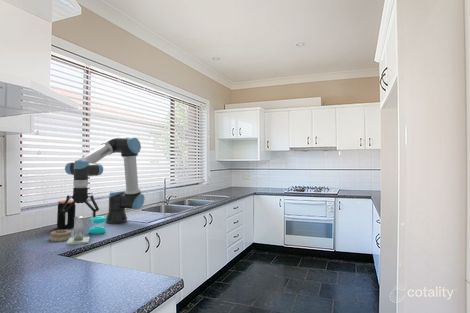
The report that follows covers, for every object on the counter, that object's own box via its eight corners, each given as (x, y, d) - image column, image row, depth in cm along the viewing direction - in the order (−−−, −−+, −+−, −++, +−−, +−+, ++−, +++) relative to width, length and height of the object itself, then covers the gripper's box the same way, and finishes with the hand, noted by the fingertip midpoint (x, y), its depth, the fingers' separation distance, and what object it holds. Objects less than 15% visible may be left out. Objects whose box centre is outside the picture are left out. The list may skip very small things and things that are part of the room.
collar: (72, 235, 187) (72, 229, 187) (69, 240, 177) (69, 233, 177) (52, 236, 183) (52, 230, 183) (48, 241, 174) (48, 234, 174)
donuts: (100, 215, 204) (109, 217, 199) (99, 229, 204) (108, 232, 199) (86, 217, 196) (95, 219, 190) (85, 232, 196) (94, 235, 190)
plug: (83, 238, 179) (84, 216, 179) (82, 240, 175) (83, 217, 175) (74, 238, 177) (75, 216, 177) (73, 241, 173) (73, 218, 173)
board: (90, 238, 183) (90, 236, 183) (88, 243, 173) (88, 241, 173) (69, 239, 179) (69, 237, 179) (66, 244, 169) (66, 242, 169)
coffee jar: (78, 226, 212) (79, 200, 213) (68, 229, 202) (69, 202, 202) (63, 225, 214) (64, 199, 214) (53, 228, 203) (54, 201, 203)
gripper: (54, 187, 168) (53, 226, 168) (103, 187, 177) (102, 224, 177) (57, 186, 175) (56, 223, 175) (104, 186, 184) (103, 221, 184)
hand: (79, 223), depth 176 cm, fingers open, 13 cm apart
